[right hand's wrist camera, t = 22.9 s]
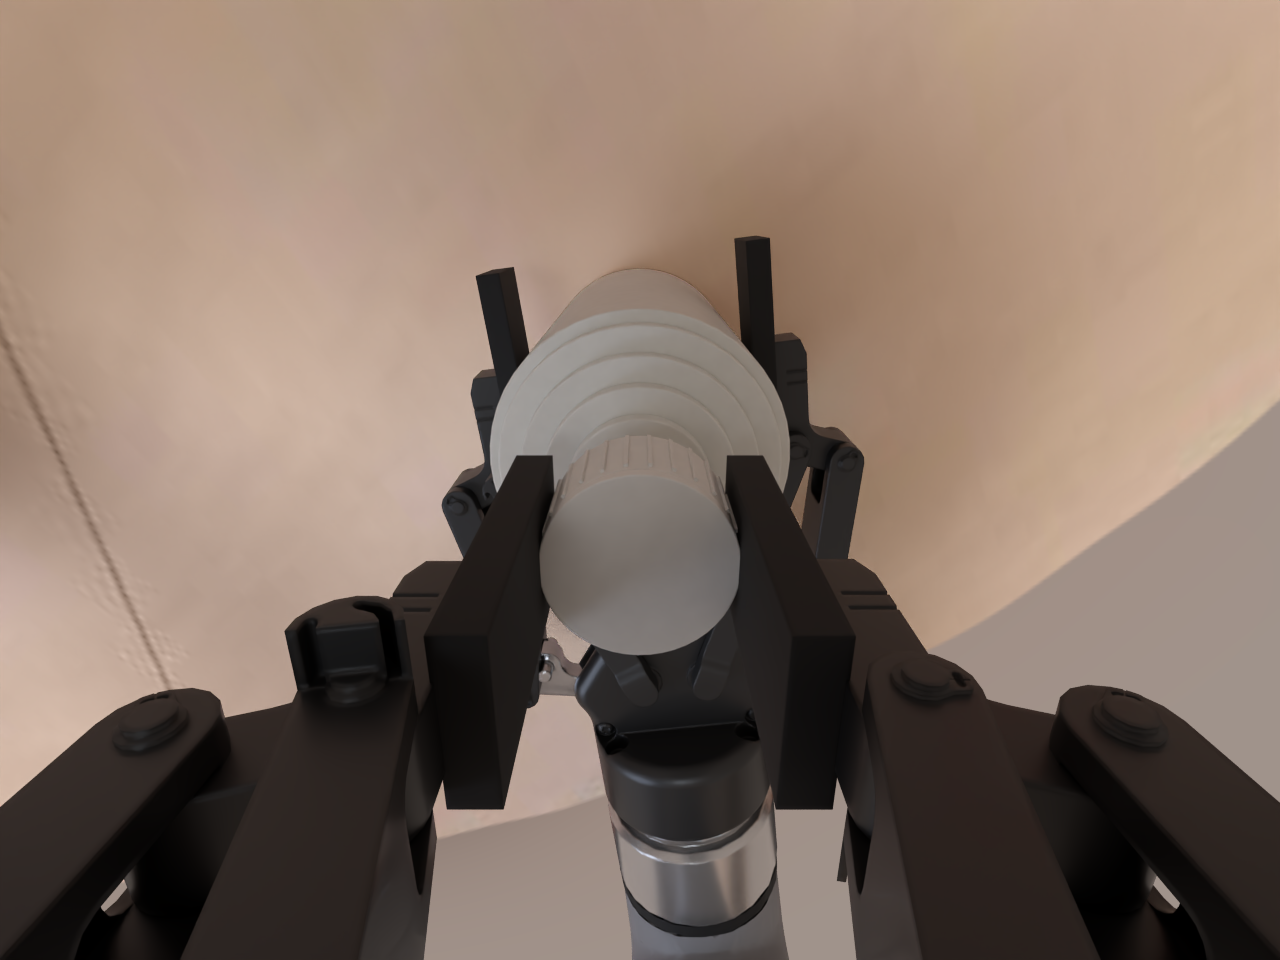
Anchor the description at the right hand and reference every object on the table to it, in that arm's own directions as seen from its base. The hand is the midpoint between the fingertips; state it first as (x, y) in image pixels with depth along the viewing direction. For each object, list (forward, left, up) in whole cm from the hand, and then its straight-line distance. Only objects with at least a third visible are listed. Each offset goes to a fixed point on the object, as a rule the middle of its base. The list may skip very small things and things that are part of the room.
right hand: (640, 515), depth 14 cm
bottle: (0, 0, -17) cm, 17 cm away
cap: (0, 0, +2) cm, 2 cm away
